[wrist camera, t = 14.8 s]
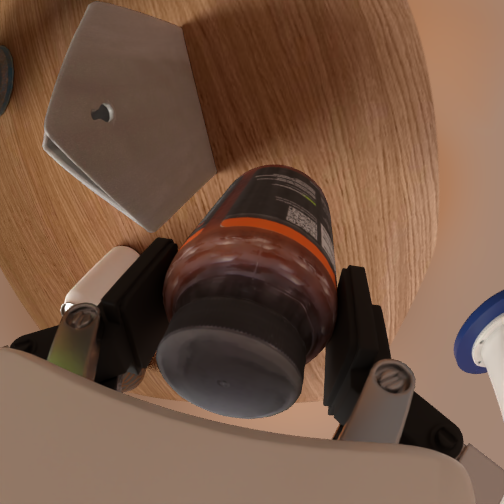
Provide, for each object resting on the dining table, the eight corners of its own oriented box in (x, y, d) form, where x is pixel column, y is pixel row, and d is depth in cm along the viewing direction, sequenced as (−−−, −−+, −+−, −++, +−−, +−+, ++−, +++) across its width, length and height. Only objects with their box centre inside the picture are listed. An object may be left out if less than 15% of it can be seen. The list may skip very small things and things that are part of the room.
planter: (117, 53, 25) (-39, 63, 8) (182, 26, 22) (29, -15, 6) (152, 187, 32) (29, 289, 16) (218, 173, 30) (110, 287, 14)
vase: (151, 351, 47) (130, 391, 40) (150, 372, 51) (132, 408, 44) (116, 335, 47) (92, 372, 40) (118, 357, 51) (97, 391, 44)
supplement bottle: (226, 253, 19) (146, 409, 9) (224, 158, 16) (91, 273, 6) (323, 264, 18) (315, 444, 8) (336, 167, 15) (369, 313, 5)
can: (146, 247, 36) (94, 307, 26) (152, 288, 40) (109, 351, 30) (106, 240, 37) (50, 293, 27) (114, 280, 40) (68, 335, 30)
